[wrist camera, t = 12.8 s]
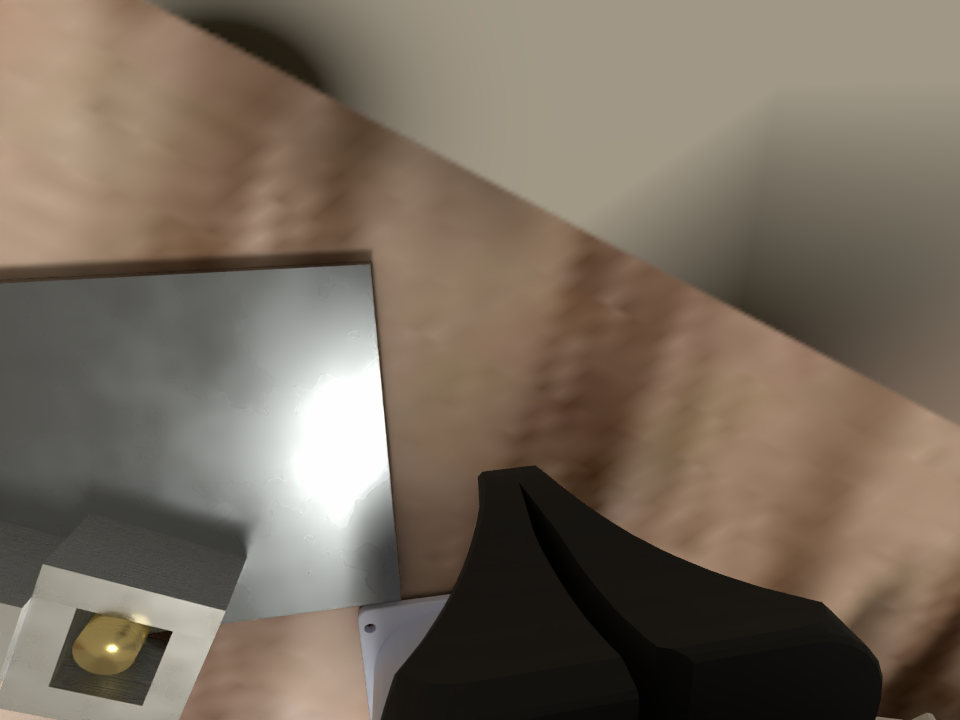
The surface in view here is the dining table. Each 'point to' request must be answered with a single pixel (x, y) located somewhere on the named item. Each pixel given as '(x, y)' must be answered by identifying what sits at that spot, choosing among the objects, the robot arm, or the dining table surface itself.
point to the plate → (208, 422)
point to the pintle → (109, 644)
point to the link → (113, 592)
